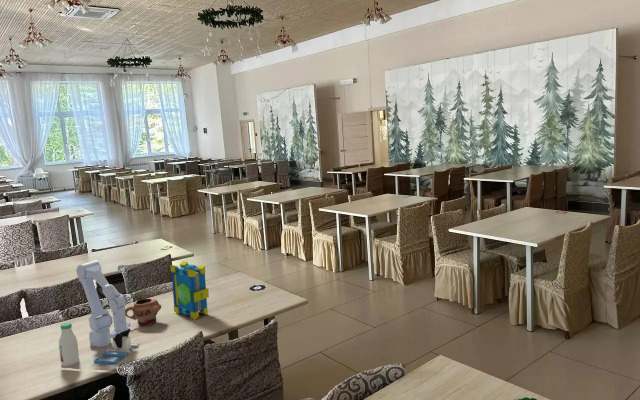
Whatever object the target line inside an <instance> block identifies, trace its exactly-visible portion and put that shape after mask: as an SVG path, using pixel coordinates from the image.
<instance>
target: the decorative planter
mask: <svg viewBox="0 0 640 400" xmlns="http://www.w3.org/2000/svg"><path fill="white" fill-rule="evenodd" d="M161 309H162V305H161V304H160V303H159V301H158V299H156V298H149V297H148V298H141V299H138V300H136V301H135V302H134V303H133V305H131V306H128V307H125V314H126V318H128V319H131V320H134V321H137V324H138V325H139V326H140V327H146V326H147V327H148V326H151V325H154V324H156V322H157V314H158V312H159V311H161ZM129 311H132V313H133V314H132V315H131V316H129V315H128V312H129Z"/></svg>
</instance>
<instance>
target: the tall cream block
mask: <svg viewBox="0 0 640 400" xmlns="http://www.w3.org/2000/svg"><path fill="white" fill-rule="evenodd" d="M131 343H132V342H131V336H128V337H127V336H123V339H122V348H117V345H116V343H115V341H114V340H113V339H112V345H113V347H114V349H115V350H129V349H130V348H131ZM113 347H112V348H113Z"/></svg>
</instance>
